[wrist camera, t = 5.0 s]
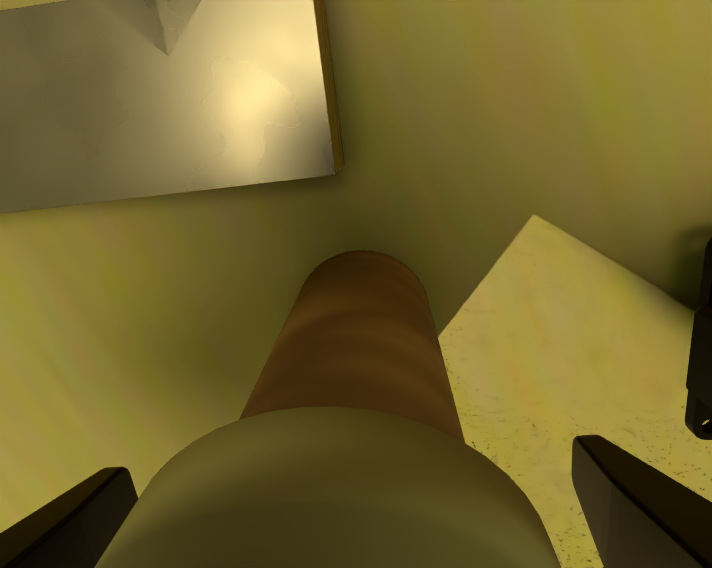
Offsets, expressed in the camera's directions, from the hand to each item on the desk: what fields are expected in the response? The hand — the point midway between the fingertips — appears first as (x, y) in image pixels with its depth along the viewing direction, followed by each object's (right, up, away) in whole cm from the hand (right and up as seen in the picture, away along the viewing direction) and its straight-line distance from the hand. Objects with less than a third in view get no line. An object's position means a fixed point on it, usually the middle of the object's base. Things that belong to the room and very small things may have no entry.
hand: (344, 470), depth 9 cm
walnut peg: (0, +2, +7) cm, 8 cm away
